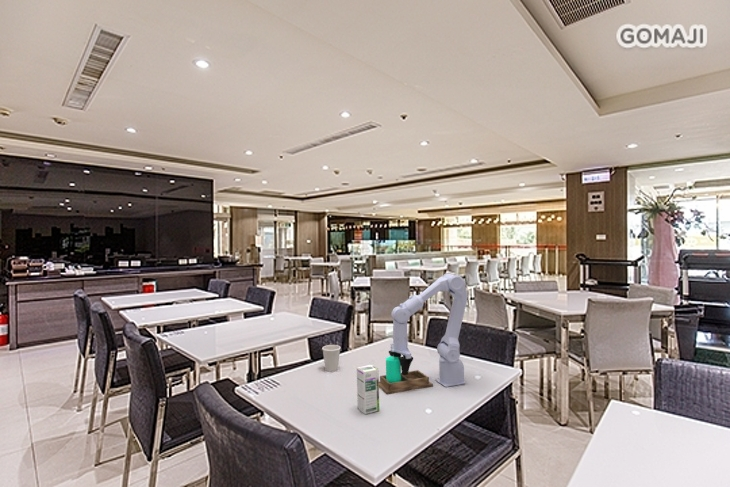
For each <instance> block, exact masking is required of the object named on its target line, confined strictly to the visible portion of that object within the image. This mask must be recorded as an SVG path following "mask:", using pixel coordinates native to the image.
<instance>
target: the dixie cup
mask: <svg viewBox="0 0 730 487" xmlns="http://www.w3.org/2000/svg"><path fill="white" fill-rule="evenodd" d="M321 349H322V353H323V362H324V370H325V371H326V372H330V373H333V372H337V371H338V370H339V361H340V354H341V346H340V345H338V344H327V345H324V346H322V348H321Z"/></svg>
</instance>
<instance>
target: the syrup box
mask: <svg viewBox="0 0 730 487" xmlns="http://www.w3.org/2000/svg"><path fill="white" fill-rule="evenodd" d="M379 372H380V371H379V368H377V367H376V366H375V365H372V364H368V365H363V366H358V367H356V396H357V409H358V410H359V411H360V412H361V413H363V415H368V414H371V413H375V412H379V411H380V388H379V382H380V376H379V374H380V373H379Z"/></svg>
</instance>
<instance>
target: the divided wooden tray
mask: <svg viewBox="0 0 730 487" xmlns="http://www.w3.org/2000/svg"><path fill="white" fill-rule="evenodd" d="M433 386H434V384H433V383H432V382H431V381H430V377H429V376H427V375H426V374H424V373H423V372H421V371H420V370H419V369H417V370H409V372H408V375H402V372H401V381H400V382H394V383H389V382H388V381H387V380H386V374H385V375H380V376H379V389H380V390H382V391H383V392H384V394H385V395H391V394H392V395H393V394H397V393H403V392H409V391H415V390H420V389H425V388H432V387H433Z"/></svg>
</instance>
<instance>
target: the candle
mask: <svg viewBox="0 0 730 487" xmlns="http://www.w3.org/2000/svg"><path fill="white" fill-rule="evenodd" d="M401 373H402V370H401V364H400V361H399V359H398V357H393V356H390V355H389V356H387V357H385V375H386V380H387V381H388V382H389V383H394V382H400V381H401Z"/></svg>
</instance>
